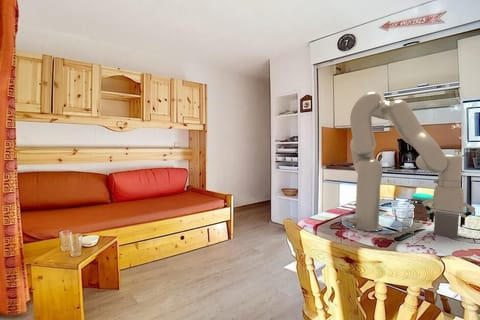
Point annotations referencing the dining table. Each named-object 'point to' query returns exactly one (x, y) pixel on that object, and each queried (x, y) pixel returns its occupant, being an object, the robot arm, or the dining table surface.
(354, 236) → the dining table surface
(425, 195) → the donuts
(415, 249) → the dining table surface
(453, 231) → the taupe cardboard-like cube
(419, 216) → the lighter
